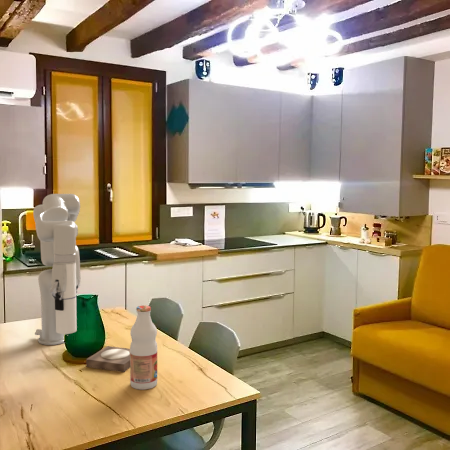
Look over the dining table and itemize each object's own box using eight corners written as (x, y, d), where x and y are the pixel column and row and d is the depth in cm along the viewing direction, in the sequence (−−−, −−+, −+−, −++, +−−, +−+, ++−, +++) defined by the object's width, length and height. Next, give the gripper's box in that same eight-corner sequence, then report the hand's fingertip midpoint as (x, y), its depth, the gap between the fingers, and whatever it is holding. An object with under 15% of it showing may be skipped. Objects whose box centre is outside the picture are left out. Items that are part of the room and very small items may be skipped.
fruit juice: (126, 382, 187) (125, 305, 184) (150, 377, 192) (150, 302, 189) (137, 392, 179) (136, 312, 176) (162, 386, 185) (162, 308, 182)
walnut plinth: (86, 366, 202) (86, 358, 201) (107, 353, 217) (107, 345, 216) (124, 372, 197) (124, 363, 197) (143, 357, 212) (142, 349, 212)
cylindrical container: (73, 334, 187) (72, 264, 183) (53, 333, 187) (51, 264, 184) (79, 327, 194) (78, 260, 191) (59, 327, 194) (58, 260, 191)
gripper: (69, 253, 196) (70, 300, 198) (40, 262, 180) (41, 312, 182) (87, 255, 194) (88, 302, 196) (59, 263, 178) (60, 314, 180)
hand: (65, 306), depth 189 cm, fingers closed on cylindrical container, 7 cm apart
